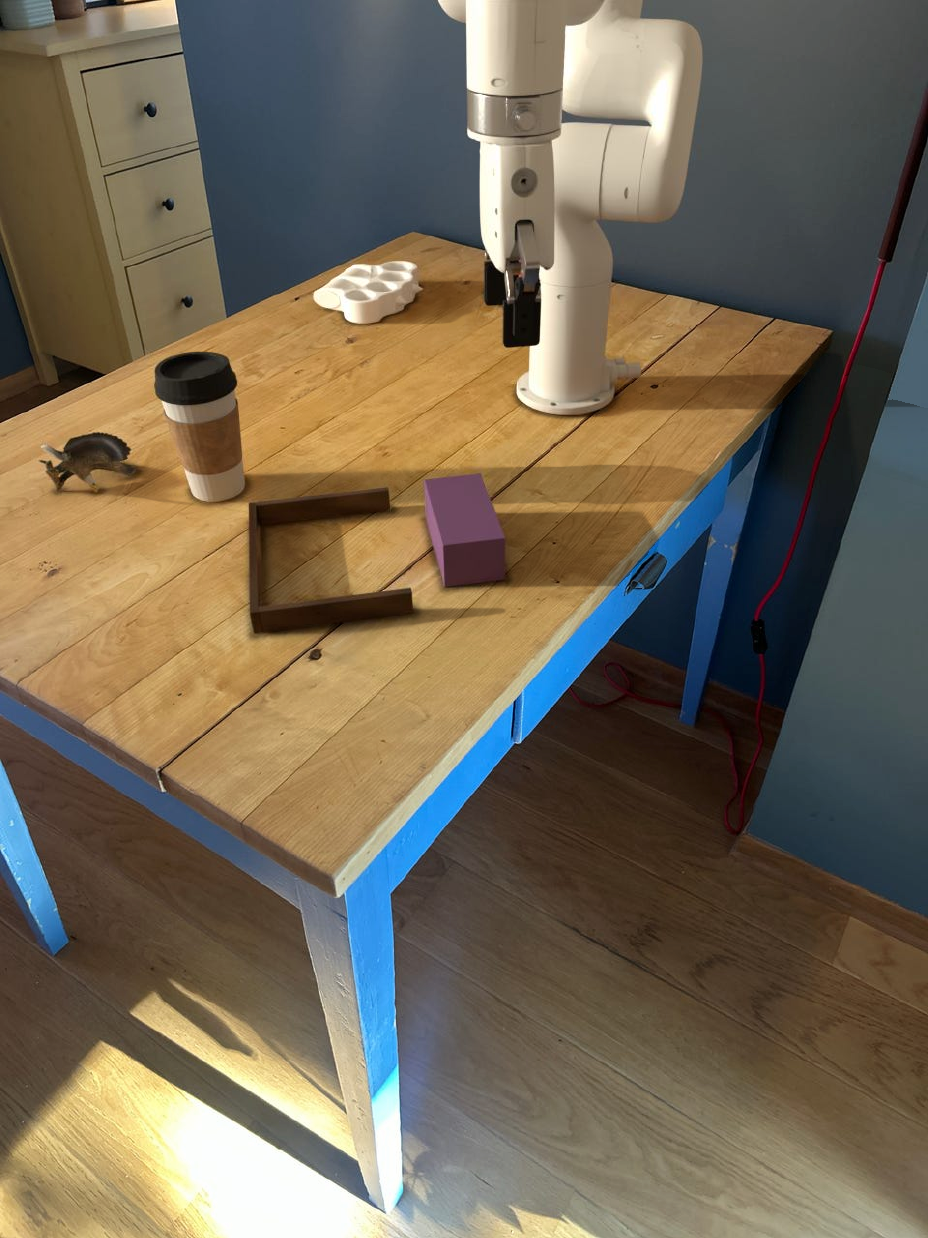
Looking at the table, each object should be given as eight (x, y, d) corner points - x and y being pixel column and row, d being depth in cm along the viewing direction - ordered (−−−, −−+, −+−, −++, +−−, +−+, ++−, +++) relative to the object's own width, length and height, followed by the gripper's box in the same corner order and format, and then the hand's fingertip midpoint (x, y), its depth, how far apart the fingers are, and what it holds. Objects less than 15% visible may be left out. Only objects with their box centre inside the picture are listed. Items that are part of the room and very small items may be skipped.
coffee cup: (220, 516, 101) (191, 388, 91) (164, 494, 104) (131, 369, 95) (271, 480, 106) (250, 356, 97) (216, 461, 110) (190, 339, 100)
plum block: (481, 512, 101) (480, 472, 97) (504, 579, 91) (505, 537, 88) (426, 519, 100) (423, 478, 97) (444, 587, 91) (442, 545, 88)
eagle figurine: (66, 506, 101) (142, 467, 104) (29, 446, 99) (107, 408, 102) (67, 508, 108) (138, 472, 111) (32, 453, 106) (105, 417, 109)
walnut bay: (389, 506, 102) (388, 486, 100) (413, 613, 88) (411, 592, 86) (252, 522, 100) (248, 502, 98) (253, 634, 86) (249, 613, 84)
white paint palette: (358, 275, 155) (439, 286, 151) (304, 315, 143) (390, 329, 138) (357, 254, 153) (438, 265, 149) (301, 293, 140) (389, 306, 136)
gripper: (587, 136, 68) (573, 360, 79) (538, 90, 81) (532, 287, 92) (485, 141, 67) (485, 367, 78) (452, 94, 80) (456, 292, 91)
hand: (510, 323), depth 85 cm, fingers open, 9 cm apart
